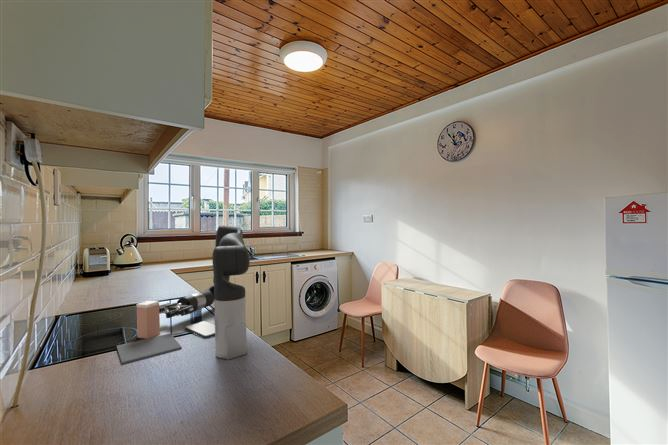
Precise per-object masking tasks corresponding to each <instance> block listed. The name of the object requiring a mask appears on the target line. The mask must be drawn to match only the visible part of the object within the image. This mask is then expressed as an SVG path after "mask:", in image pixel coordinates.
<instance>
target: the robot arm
mask: <svg viewBox="0 0 668 445" xmlns="http://www.w3.org/2000/svg"><path fill="white" fill-rule="evenodd" d="M215 235H216V236H215V247H214V249H213V251H212V259H211V260H212V271H213V272H212V273H213V280H212V281H213V285H211V286H209V287H208V288H206V289H205V290H203V291H201V292H197V293H191V294H188V295H185V296H181V297H180V298H178V299H177V301H176V302H173V303H170V302H167V303H163V304H161V305H160V304H159V315H160V314H165V318H166V319H171V318H174V317H179V316H181V317H184V316H188V315H190V314H193V313H196V312H198V311H200V310H202V309H205V308H207V307H209V306H212V305H213V304H214V325H215V336H214V339H215V340H214V341H215V357H216V358H219V359H226V360H228V361H229V360H231V359H235V358H238V357H241V356H244V355H247V353H248V348H247V346H248V345H247V344H248V342H247V340H248V339H247V309H246V308H247V307H246V304H247V302H246V288H245V286H244V285H240V284H236V283H232V282H230V277H231V276H232V277H233V276H240V275H241V276H242V275H244V274H246V273H247V272H248V270H249V267H250V261H251V260H250V253H249V251H248V248H247V246H246V245H245V242H244V239H243V238H244V232H243V230H242V228H240V227H238V226H234V225H233V226H232V225H226V224H225V225H224V224H223V225H221V224H220V225H219V226H218V228H217V231H216V234H215Z"/></svg>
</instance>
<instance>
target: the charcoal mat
mask: <svg viewBox="0 0 668 445" xmlns="http://www.w3.org/2000/svg"><path fill="white" fill-rule="evenodd" d="M182 348H183V347H182V346H181V344H180V343H179V342H178V341H177V340H176V338H175V337H174V336H173V334H171V333H166V334H162V335H158V336H157V335H156V336H154V337H151V338H148V339H145V338H143V339H139V340H136V341H131V342H127V343H122V344H118V345H116V350H117V354H118V357H119V356H120V357H119V359H120V363H121V365H124V364H128V363H132V362H136V361H139V360H143V359H144V360H145V359H147V358H151V357H155V356H159V355H163V354H167V353H170V352H171V353H172V352H175V351H177V350H178V351H179V350H182Z"/></svg>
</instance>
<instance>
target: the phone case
mask: <svg viewBox="0 0 668 445" xmlns="http://www.w3.org/2000/svg"><path fill="white" fill-rule="evenodd" d="M183 329H184V331H185V330H186V331H185V332H187V331H188V333H190V332H192V333H195V334H197V335H199V336H201V337H200V338H202V337H203V338H202V339H210V338H212V337H211V336H213V337H215V336H214V335H215V323H211V322H209V321H206V320H202V321H199V322H195V323H191V324H188V325H185V326H184V327H183ZM192 333H191V334H192ZM195 334H194V335H195ZM197 335H196V336H197ZM199 336H198V337H199ZM209 337H210V338H209Z"/></svg>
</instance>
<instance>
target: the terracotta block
mask: <svg viewBox="0 0 668 445" xmlns="http://www.w3.org/2000/svg"><path fill="white" fill-rule="evenodd" d="M159 305H160V301H157V300H156V301H155V300H145V301H143V302H139V303H136V329H137V330H136V331H137V332H136V333H137V336H136V337H137V338H140V339H148V338H152V337H157V335H158V336H159V335H160V334H161V325H160V324H161V322H160V321H161V320H160V314H159Z"/></svg>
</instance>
